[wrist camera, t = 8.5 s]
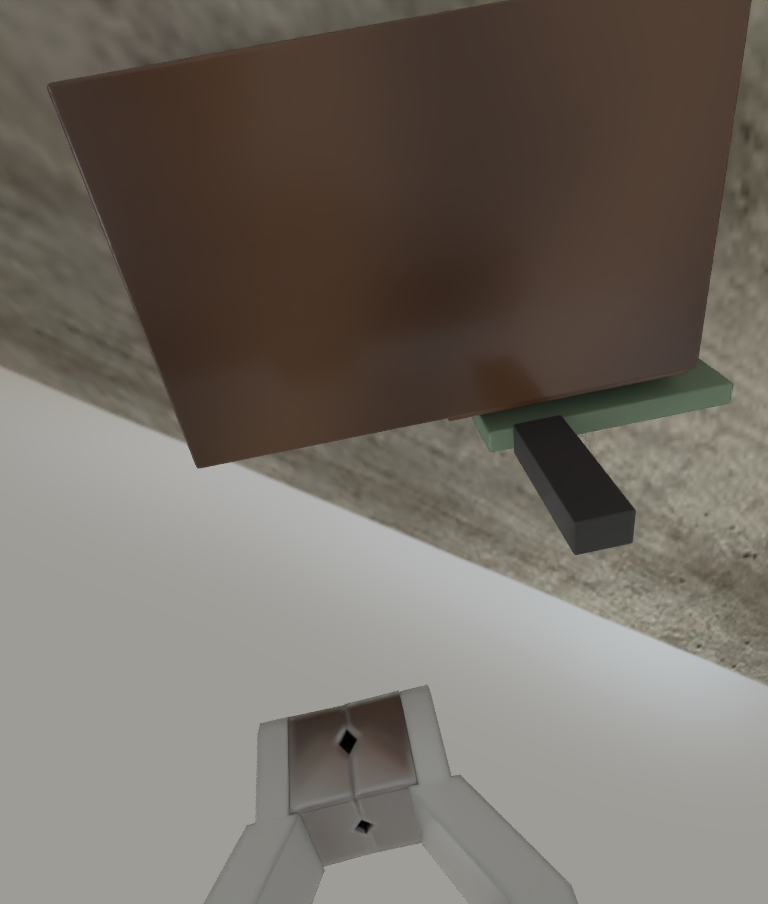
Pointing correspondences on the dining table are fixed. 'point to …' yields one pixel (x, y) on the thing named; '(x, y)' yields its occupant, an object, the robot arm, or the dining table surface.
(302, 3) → the dining table surface
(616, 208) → the cupboard
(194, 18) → the dining table surface
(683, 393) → the door
